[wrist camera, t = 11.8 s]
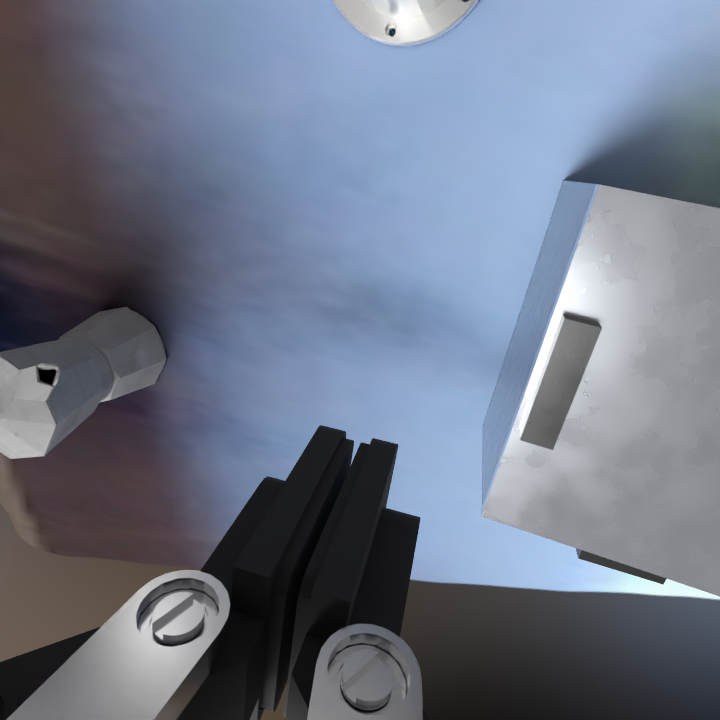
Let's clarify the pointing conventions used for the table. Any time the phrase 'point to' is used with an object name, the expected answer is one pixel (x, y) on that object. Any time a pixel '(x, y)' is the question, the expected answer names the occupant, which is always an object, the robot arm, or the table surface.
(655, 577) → the grey metal box
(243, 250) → the table surface
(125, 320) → the coffeepot
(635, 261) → the cooker lid
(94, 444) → the table surface
